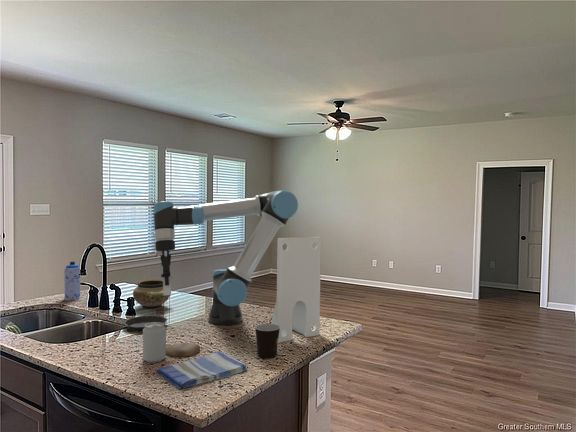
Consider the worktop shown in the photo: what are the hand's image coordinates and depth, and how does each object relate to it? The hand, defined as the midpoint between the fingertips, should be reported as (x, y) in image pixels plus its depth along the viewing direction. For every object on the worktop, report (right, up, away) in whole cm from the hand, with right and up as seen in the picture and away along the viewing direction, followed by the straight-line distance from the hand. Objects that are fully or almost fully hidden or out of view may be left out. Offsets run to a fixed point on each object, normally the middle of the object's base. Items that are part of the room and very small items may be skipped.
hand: (167, 295), depth 163 cm
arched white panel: (+47, -18, +9) cm, 51 cm away
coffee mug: (+40, -18, -14) cm, 46 cm away
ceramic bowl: (-21, -15, +48) cm, 54 cm away
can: (+1, -18, -21) cm, 27 cm away
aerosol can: (-69, -14, +64) cm, 95 cm away
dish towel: (+20, -19, -30) cm, 41 cm away
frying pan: (-11, -17, +9) cm, 22 cm away
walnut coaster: (+9, -18, -12) cm, 23 cm away
